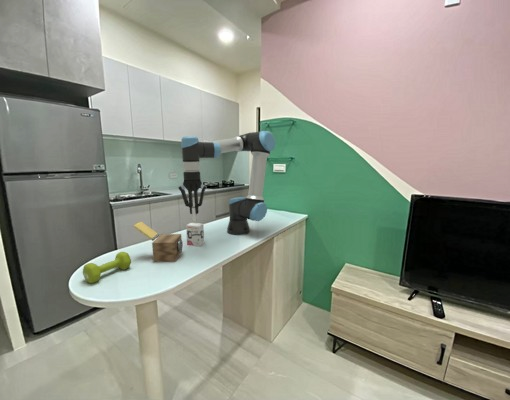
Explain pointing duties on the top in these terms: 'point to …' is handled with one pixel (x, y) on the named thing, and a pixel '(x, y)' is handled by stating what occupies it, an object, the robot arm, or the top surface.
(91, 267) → the dumbbell
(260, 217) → the robot arm
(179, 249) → the pin
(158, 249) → the block
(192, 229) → the ink box
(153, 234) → the tan flat board
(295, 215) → the top surface
